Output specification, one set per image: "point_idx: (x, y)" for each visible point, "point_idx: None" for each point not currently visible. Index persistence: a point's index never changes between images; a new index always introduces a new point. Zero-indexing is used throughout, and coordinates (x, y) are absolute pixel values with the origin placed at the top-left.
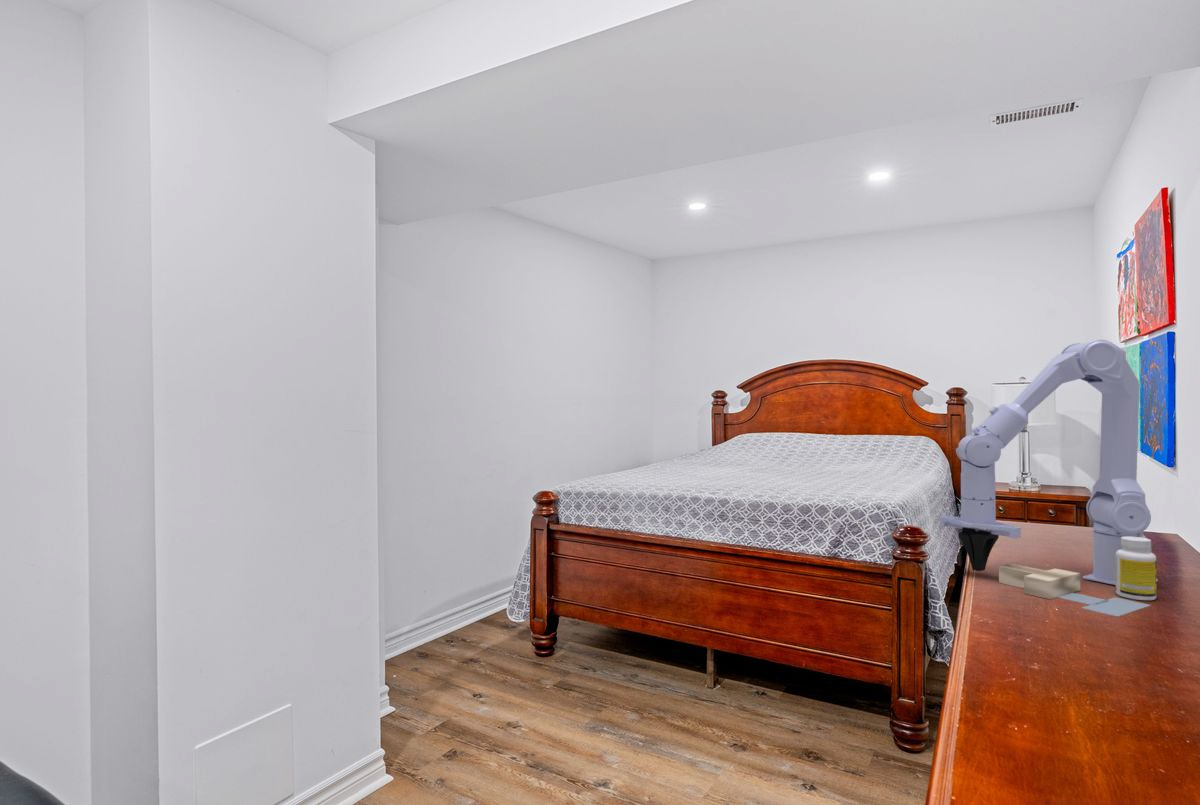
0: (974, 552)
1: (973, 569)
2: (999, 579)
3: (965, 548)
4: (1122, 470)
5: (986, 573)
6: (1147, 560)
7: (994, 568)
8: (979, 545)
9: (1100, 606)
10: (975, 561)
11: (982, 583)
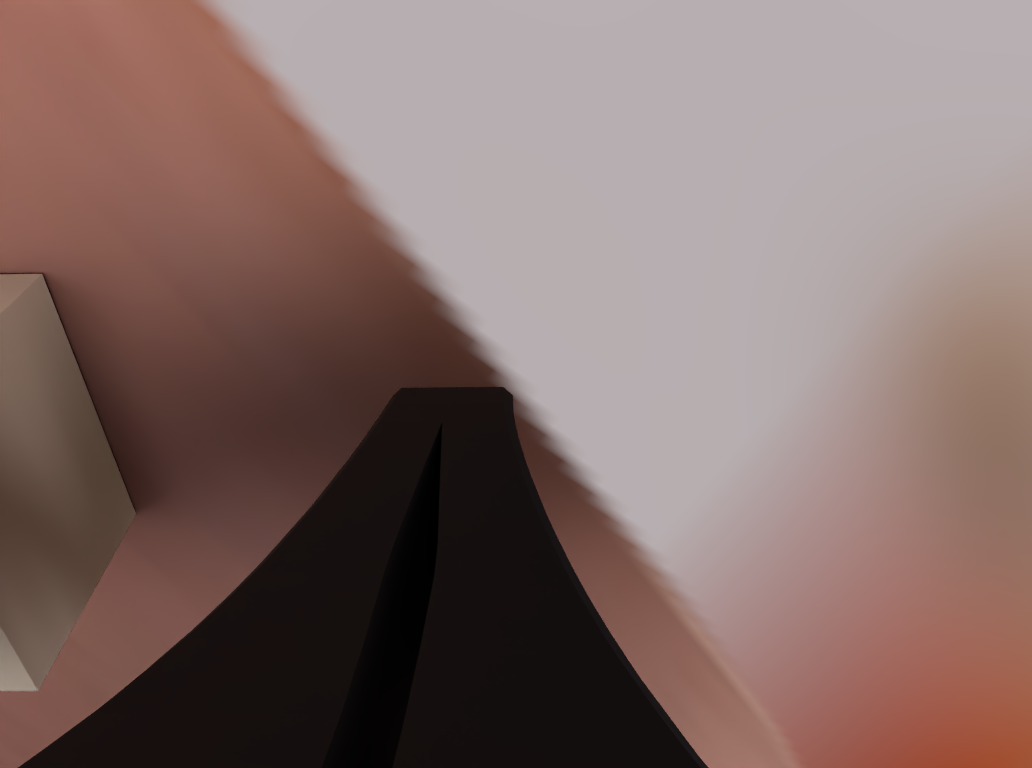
0: (374, 582)
1: (485, 392)
2: (5, 296)
3: (603, 625)
4: None
5: None
6: None
7: None
8: (114, 738)
9: None
10: (403, 461)
11: (78, 22)
